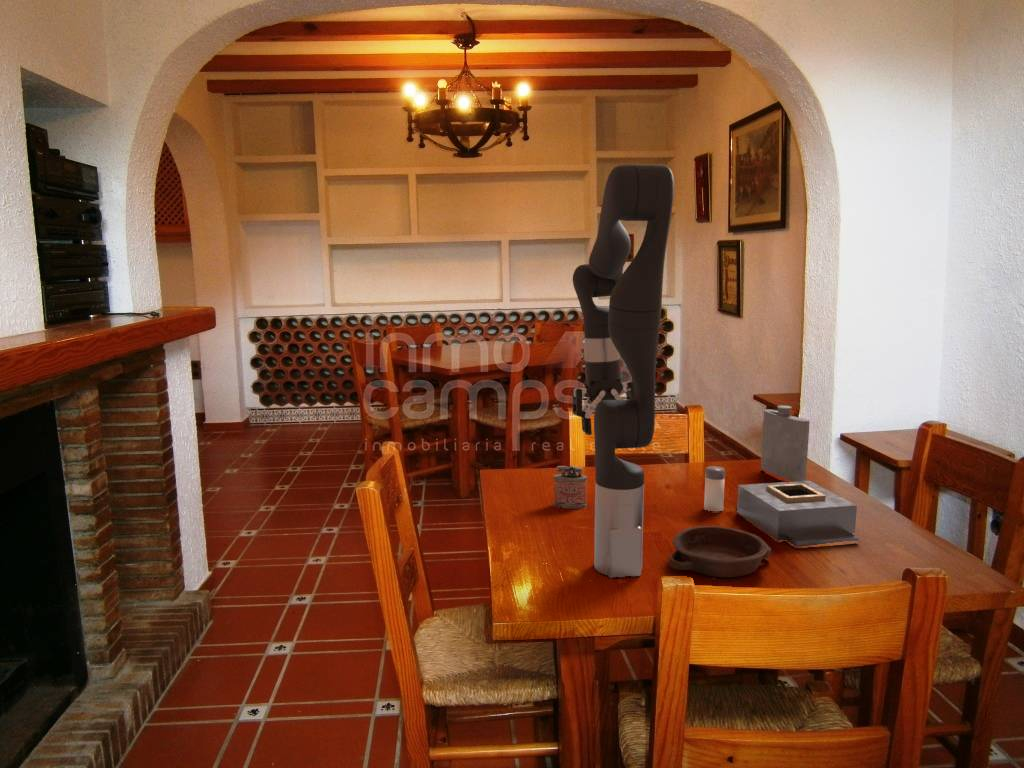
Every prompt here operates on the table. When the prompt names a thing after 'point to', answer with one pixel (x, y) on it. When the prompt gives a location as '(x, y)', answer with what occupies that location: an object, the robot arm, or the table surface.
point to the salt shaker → (714, 488)
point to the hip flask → (785, 444)
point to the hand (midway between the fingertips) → (606, 431)
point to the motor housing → (798, 512)
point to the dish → (718, 551)
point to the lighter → (570, 488)
